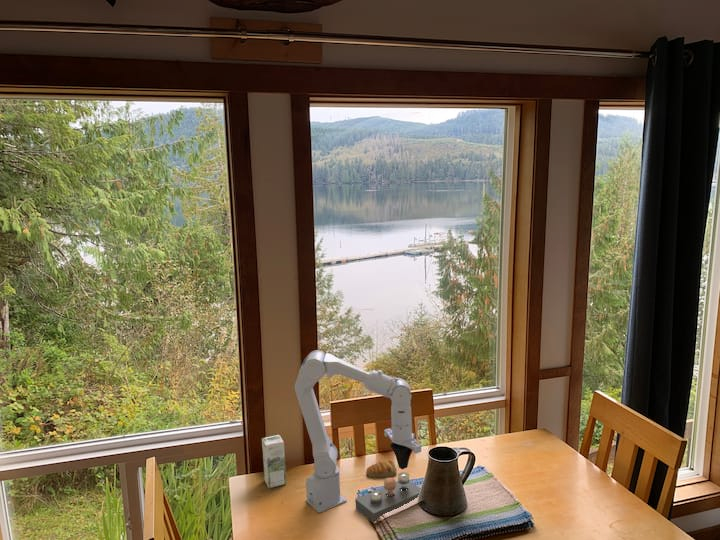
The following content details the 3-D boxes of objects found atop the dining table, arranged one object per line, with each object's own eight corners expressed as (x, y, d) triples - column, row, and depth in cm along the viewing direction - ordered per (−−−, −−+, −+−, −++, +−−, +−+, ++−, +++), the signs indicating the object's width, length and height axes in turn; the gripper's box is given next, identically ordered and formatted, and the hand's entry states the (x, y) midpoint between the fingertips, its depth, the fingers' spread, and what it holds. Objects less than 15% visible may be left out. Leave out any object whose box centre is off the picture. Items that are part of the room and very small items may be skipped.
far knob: (403, 494, 152) (402, 479, 152) (396, 489, 155) (395, 474, 154) (411, 490, 154) (411, 475, 153) (404, 486, 157) (404, 471, 156)
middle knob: (389, 500, 150) (388, 484, 149) (382, 495, 152) (381, 480, 152) (398, 496, 151) (397, 481, 151) (391, 491, 154) (390, 476, 153)
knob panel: (374, 523, 143) (373, 513, 143) (355, 508, 151) (355, 498, 150) (425, 500, 153) (424, 490, 153) (405, 487, 161) (405, 478, 160)
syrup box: (281, 476, 171) (278, 433, 169) (286, 485, 165) (283, 440, 163) (264, 480, 168) (261, 437, 167) (268, 489, 163) (265, 444, 161)
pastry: (370, 481, 165) (369, 470, 165) (363, 471, 172) (363, 460, 171) (398, 476, 168) (397, 464, 168) (390, 466, 175) (390, 455, 174)
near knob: (375, 514, 147) (374, 498, 146) (368, 508, 150) (367, 493, 149) (384, 509, 149) (383, 494, 148) (377, 504, 151) (377, 489, 151)
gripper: (429, 426, 148) (430, 472, 150) (396, 411, 160) (398, 454, 162) (409, 434, 144) (411, 481, 146) (378, 417, 156) (379, 461, 158)
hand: (403, 467), depth 154 cm, fingers closed
